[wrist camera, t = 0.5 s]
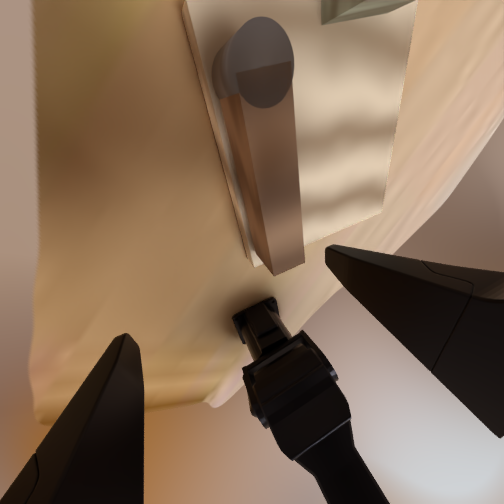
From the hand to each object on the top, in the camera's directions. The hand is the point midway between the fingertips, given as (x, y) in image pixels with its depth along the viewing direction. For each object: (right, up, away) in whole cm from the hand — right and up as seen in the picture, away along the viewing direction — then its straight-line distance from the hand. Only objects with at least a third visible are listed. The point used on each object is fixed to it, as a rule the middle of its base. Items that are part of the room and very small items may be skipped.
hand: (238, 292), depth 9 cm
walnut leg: (+1, +8, +8) cm, 12 cm away
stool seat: (+6, +12, +12) cm, 18 cm away
